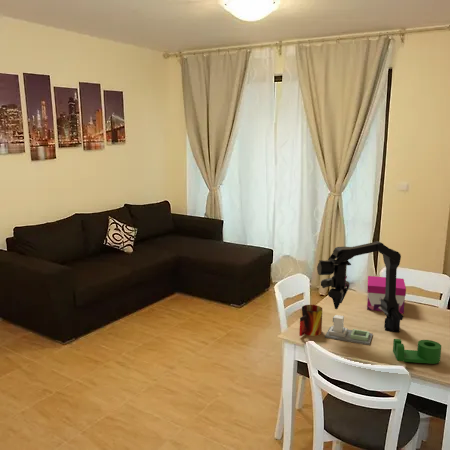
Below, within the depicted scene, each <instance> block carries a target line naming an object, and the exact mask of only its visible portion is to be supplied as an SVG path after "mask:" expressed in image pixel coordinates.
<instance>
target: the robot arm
mask: <svg viewBox="0 0 450 450" xmlns="http://www.w3.org/2000/svg"><path fill="white" fill-rule="evenodd" d="M374 252H375V253H376V252H379V253H380V254H381V255H382V259H383V263H384V265H385V277H386V287H385V297H384V299H381V300H380V301H381V305H380V307H381V309H382V310H383V311H384V312H383V313H384V315H385V316H386V317H385V318H384V328H383V329H384V330H385V331H386V332H392V333H393V332H394V333H400V330H401V326H400V325H401V321H403V319H404V314H401V313H400V312H399V307H398V303H397V300H396V278H397V272H398V271H397V270H398V267H399V266H400V264H401V263H400V262H401V258H402V255H401V253H400V252H398V251H397V250H394V249H393V248H389V246H387V245H385V244H384V243H382V242H380V241H378V240H377V241H373V242H368V243H364V244H359V245H353V246H336V247H335V248H334V249H333V251H332V253H331V254H330V255H329V257H328V258H327V260H324V259H323V260H319V261H318V263H317V267H316V270H317V274H318V276H329V275H333V276H331V277H329V278H323V279H322V280H320V286H321V288H322V289H326V288H329V287H331V288H330V289H329V290H328V293H327V296H328V297H329V298H331V299H332V302H333V306H334V309H335V310H338V309H339V306H340V304H342V303H343V301H344V299H345V296H346V295H347V293H348V291H349V289H350V282H349V281H347V279H348V276H347V266H352V263H351V262H350V261H349V260H352V259H353V258H354V257H357V256H361V255H366V254H370V253H371V254H372V253H374Z"/></svg>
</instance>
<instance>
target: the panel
mask: <svg viewBox="0 0 450 450" xmlns="http://www.w3.org/2000/svg"><path fill="white" fill-rule="evenodd" d="M373 335H374V334H373V333H371V332H370V331H368V330H362V329H356V328H354V329H348V327H344V326H343V333H341V332H335V331H333V325H331V326H329V328H328V329H327V332H326V333H325V335H324V338H326V339H331V340H336V341H337V340H338V341H341V342H342V341H343V342H349V343H354V344H355V343H356V344H361V345H366V346H370V344H371V341H372V338H373Z"/></svg>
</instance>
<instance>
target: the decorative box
mask: <svg viewBox="0 0 450 450" xmlns="http://www.w3.org/2000/svg"><path fill="white" fill-rule="evenodd" d="M385 287H386V276H374V275H373V276H371V275H368V276H367V296H366V297H367V298H366V301H367V302H366V310H367V311H377V312H381V313H382V312H383V313H384V311H383V310H382V309H381V307H380V305H381V301H380V300H381V299H384V297H385ZM406 294H407V287H406V283H405V279H404V278H399V277H396V300H397V303H398V307H399V312H400V313H401V314H402V315H404V314H405V302H406V300H405V299H406Z"/></svg>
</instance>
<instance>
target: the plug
mask: <svg viewBox="0 0 450 450" xmlns="http://www.w3.org/2000/svg"><path fill="white" fill-rule="evenodd" d="M344 319H345V316H344V315H340V314H335V315H334V316H333V317H332V323H333V325H332V326H333V331H335V332H341V333H343V327H344V324H345V323H344V321H345V320H344Z"/></svg>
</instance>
